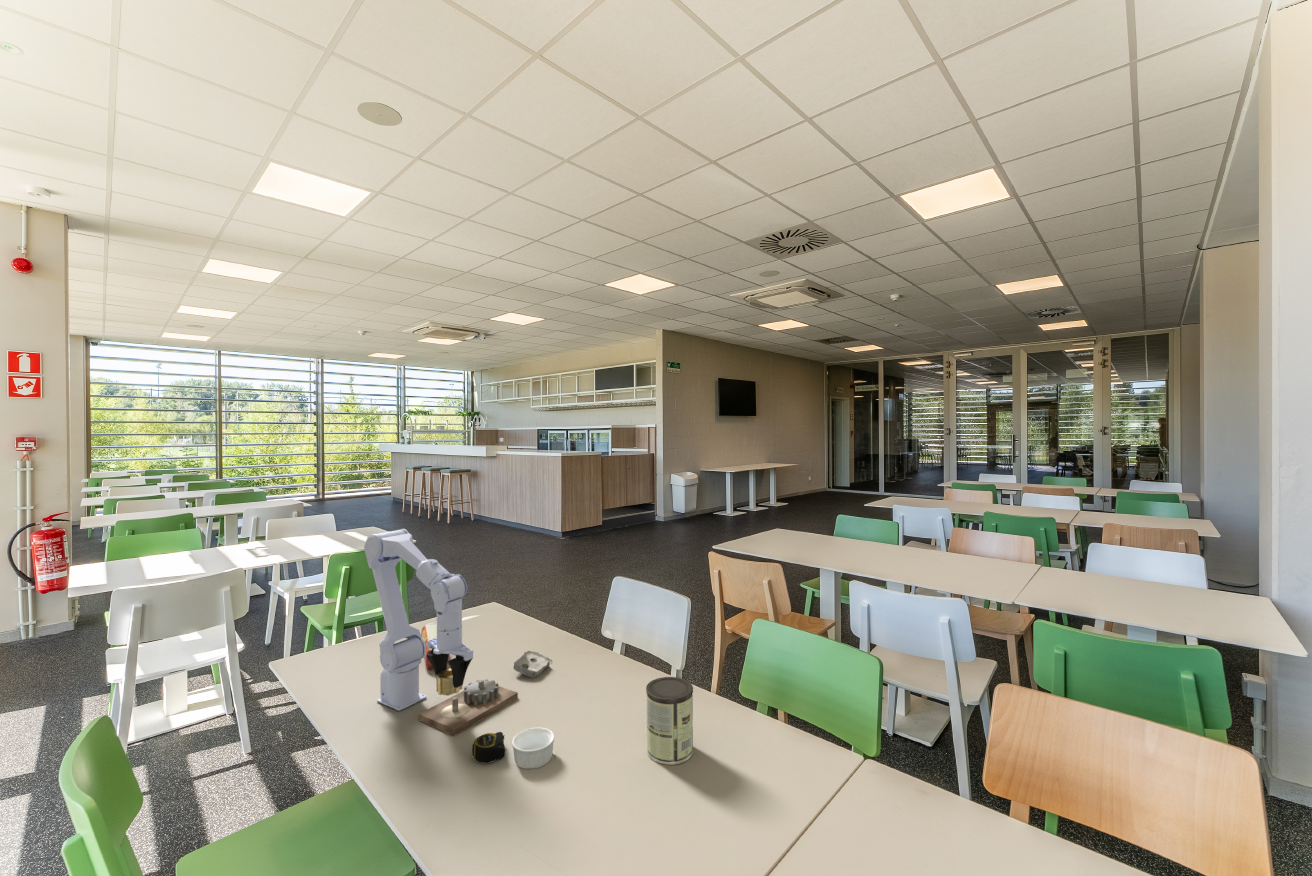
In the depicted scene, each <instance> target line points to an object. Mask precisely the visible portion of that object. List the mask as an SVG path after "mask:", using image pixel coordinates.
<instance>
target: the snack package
mask: <svg viewBox="0 0 1312 876" xmlns="http://www.w3.org/2000/svg"><path fill="white" fill-rule="evenodd" d="M420 634H421V637H422V638H423V640H424V641H425V644H426V654H425V656H424V658H423V659H424V665H425V668H426V670H428V671H434V669H433V666H432V664H431V662H430V660H429V659H428V657H427V653H429V652H431V650H432V648H431V649H428V648H427V640H430V639H433V638H436V639H437V621H436V622H428V623H427V624H425V625H423V627H422V629H421V631H420ZM449 660H450V656H449V657H448V661H449ZM448 664H449V663H448V662H447V665H448Z"/></svg>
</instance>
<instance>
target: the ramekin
mask: <svg viewBox="0 0 1312 876" xmlns="http://www.w3.org/2000/svg"><path fill="white" fill-rule="evenodd" d="M554 741H555V734H554V732H553V731H552V730H551V729H549V728H546V727H538V726H537V727H531V728H526V729H523V730H521V731H519V732H518V733H516V735H514V736H513V738H512V741H511V746H512V748H513V749H512V750H513V758H514V763H515V764H516V765H517V767H519V768H522V769H525V770H533V769H538V768H541V767H543V766H545V765H546V764H547V763H549V761H550V760H551V759H552V757H553V751H554Z"/></svg>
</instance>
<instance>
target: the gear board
mask: <svg viewBox="0 0 1312 876" xmlns="http://www.w3.org/2000/svg"><path fill="white" fill-rule="evenodd" d="M518 697H519V693H518V691H513V690H512V689H508V688H505V687H503V686H500V685H499V683H498V682H496V681H495V680H489V679H484V680H483V679H480V680H479V679H478V680H476V681H475V682H469V683H468V685H467V686H464V687H463V691H461V692H460V691H459V692H458V693H455V695H453V696H450V697H448V698H447V699H444V700H443V701H441V702H439V703H437V704H435V705H433V706H431V707H429V708H428V709H426V710H423V711H422V712H419V713H418V717H417V718H418V722H419V721H420V722H421V723H424V724H427V725H429V726H431V727H433V728H435V729H438V730H440V731H443V732H445V733H447V734H450V735H453V736H457V735H458V734H460V733H462V732H463V731H465V730H466V729H469V728H470V727H471V726H473V725H475V724H477V723H478V722H480V721H482V720H483V719H485V718H487V717H488V716H491V715H492V714H493V713H494V714H495V713H496V712H498V711H499V710H500V709H502V708H504V707H506V706H507V705H509V704H510V703H512V702H514V701H515V700H517V699H519V698H518Z"/></svg>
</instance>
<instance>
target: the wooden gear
mask: <svg viewBox="0 0 1312 876" xmlns="http://www.w3.org/2000/svg"><path fill="white" fill-rule="evenodd" d="M435 678H436V683H435V685H436V692H437V694H438V695H439V696H446V697H447V696H451V695H454V694H458V693H460V691H461V690H463V685H462V686H460V687H458V688H454V685H453V675H452V670H451V667H449V668H447V669H446V670H442V671H440V672H439V674H437V675H436V676H435Z"/></svg>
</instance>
